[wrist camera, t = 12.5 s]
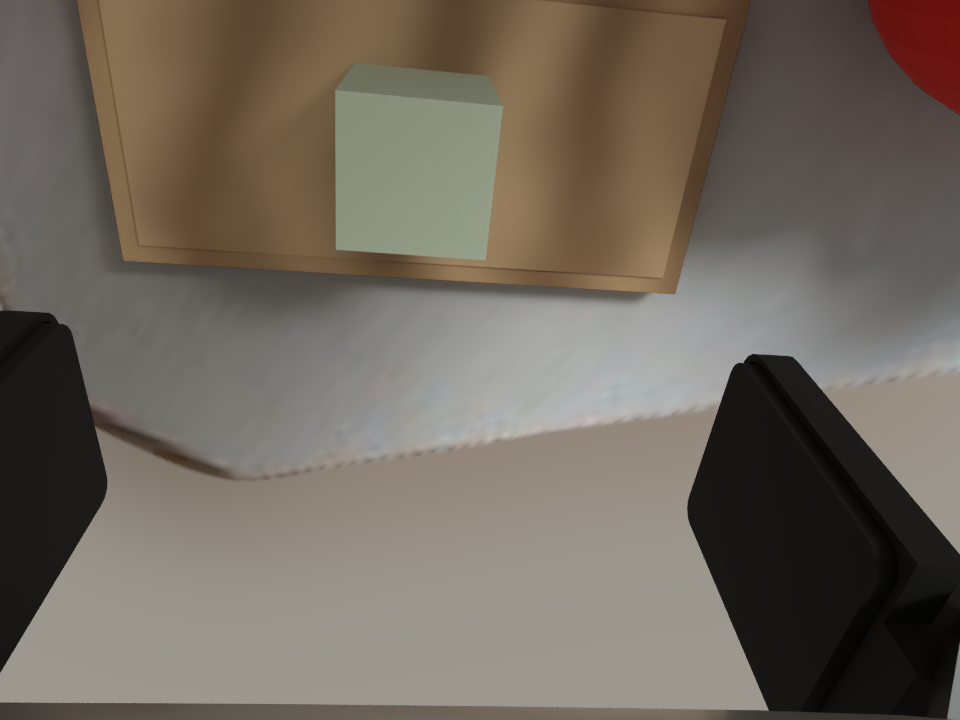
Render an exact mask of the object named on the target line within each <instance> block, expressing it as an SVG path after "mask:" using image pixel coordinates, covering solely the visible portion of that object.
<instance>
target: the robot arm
mask: <svg viewBox="0 0 960 720" xmlns="http://www.w3.org/2000/svg"><path fill="white" fill-rule="evenodd" d="M106 490H107V475H106V471H105V466H104V462H103V458H102V455H101V450H100V446H99V442H98V438H97V434H96V430H95V426H94V421H93V417H92V413H91V409H90V405H89V401H88V397H87V393H86V389H85V385H84V381H83V376H82V372H81V368H80V364H79V360H78V356H77V352H76V348H75V344H74V340H73V336H72V333H71V330H70V329H69V328H68V326H66V325H64V324H59V323H58V321H57V320H56V318H55V317H54V316H53V315H51V314H50V313H41V312H24V311H0V672H1V671H2V669H3V667H4V665H5V664H6V662H7V660H8V659H9V657H10V656H11V653H12V652H13V651H14V649H15V647H16V646H17V644H18V642H19V641H20V639H21V637H22V635H23V634H24V632H25V630H26V629H27V627H28V626H29V624H30V622H31V621H32V619H33V617H34V616H35V614H36V612H37V611H38V609H39V607H40V606H41V604H42V602H43V601H44V599H45V597H46V596H47V594H48V592H49V591H50V589H51V587H52V586H53V584H54V582H55V581H56V579H57V577H58V576H59V574H60V573H61V571H62V569H63V568H64V566H65V564H66V563H67V561H68V559H69V558H70V556H71V554H72V553H73V551H74V549H75V548H76V546H77V544H78V543H79V541H80V539H81V538H82V536H83V534H84V533H85V531H86V529H87V527H88V526H89V524H90V523H91V521H92V519H93V517H94V516H95V514H96V513H97V511H98V509H99V508H100V506H101V504H102V502H103V500H104V498H105V495H106ZM687 511H688V519H689V523H690V525H691V528H692V530H693V532H694V535H695V537H696V540H697V542H698V544H699V547H700V549H701V551H702V554H703V556H704V559H705V561H706V563H707V566H708V568H709V570H710V573H711V575H712V577H713V580H714V582H715V584H716V587H717V589H718V591H719V594H720V596H721V599H722V601H723V603H724V606H725V608H726V610H727V612H728V615H729V617H730V620H731V622H732V625H733V627H734V629H735V631H736V634H737V636H738V639H739V641H740V643H741V646H742V648H743V650H744V653H745V655H746V658H747V660H748V662H749V664H750V667H751V669H752V671H753V674H754V676H755V679H756V681H757V683H758V686H759V688H760V691H761V693H762V695H763V698H764V700H765V702H766V705H767V707H768V709H769V711H760V710H759V711H758V710H697V709H636V708H635V709H634V708H633V709H632V708H572V707H571V708H569V707H500V706H497V707H496V706H409V705H408V706H407V705H406V706H405V705H311V704H298V705H297V704H173V703H172V704H170V703H169V704H168V703H164V704H163V703H159V704H158V703H0V720H960V554H959V553H958V552H957V551H956V549H955V548H954V547H953V546H952V545H951V544H950V542H949V541H948V540H947V539H946V538H945V536H944V535H943V534H942V533H941V532H940V530H939V529H938V528H937V527H936V526H935V524H934V523H933V522H932V521H931V520H930V519H929V517H928V516H927V515H926V514H925V513H924V512H923V510H922V509H921V508H920V507H919V505H918V504H917V503H916V502H915V501H914V500H913V498H912V497H911V496H910V495H909V494H908V492H907V491H906V490H905V489H904V488H903V487H902V485H901V484H900V483H899V482H898V481H897V480H896V478H895V477H894V476H893V475H892V473H891V472H890V471H889V470H888V469H887V467H886V466H885V465H884V464H883V463H882V461H881V460H880V459H879V458H878V457H877V456H876V454H875V453H874V452H873V451H872V450H871V448H870V447H869V446H868V445H867V444H866V442H865V441H864V440H863V439H862V438H861V437H860V435H859V434H858V433H857V432H856V431H855V429H854V428H853V427H852V426H851V425H850V424H849V422H848V421H847V420H846V419H845V418H844V416H843V415H842V414H841V413H840V412H839V410H838V409H837V408H836V407H835V406H834V405H833V403H832V402H831V401H830V400H829V399H828V397H827V396H826V395H825V394H824V393H823V391H822V390H821V389H820V388H819V387H818V385H817V384H816V383H815V382H814V381H813V380H812V378H811V377H810V376H809V375H808V374H807V372H806V371H805V370H804V369H803V368H802V366H801V365H800V364H799V363H798V362H797V360H795V359H794V358H793V357H790V356H776V355H759V354H752V355H750V356H748V357H747V359H746V360H745V361H744V363H738V364H736V365H735V366H734V367H733V369H732V371H731V373H730V376H729V379H728V382H727V385H726V388H725V391H724V394H723V397H722V400H721V403H720V406H719V409H718V412H717V415H716V418H715V421H714V424H713V427H712V430H711V433H710V436H709V439H708V442H707V446H706V448H705V451H704V454H703V457H702V460H701V463H700V466H699V469H698V472H697V475H696V478H695V481H694V484H693V487H692V490H691V493H690V496H689V499H688V506H687Z"/></svg>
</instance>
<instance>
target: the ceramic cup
mask: <svg viewBox="0 0 960 720" xmlns="http://www.w3.org/2000/svg"><path fill="white" fill-rule="evenodd" d="M868 3H869V7H870V11H871V15H872V19H873V22H874V24H875V26H876V28H877V30H878V32H879V34H880V36H881V38H882V41H883V43H884V45H885V47H886V49H887V50H888V52H889V54H890V55H891V57H892V58H893V59H894V60H895V61H896V62H897V63H898V65H899V66H900V67H901V68H902V69H903V70H904V72H905V73H906V74H907V75H908V76H909V77H910V78H911V80H912V81H913V82H914V83H915V84H916V85H917V86H918V87H920V88H921V89H922V90H923V91H925V92H926V93H928V94H929V95H931V96H932V97H934V98H935V99H937V100H938V101H940V102H941V103H943V104H944V105H946V106H947V107H949V108H950V109H952V110H953V111H955V112H956V113H958V114H960V0H868Z"/></svg>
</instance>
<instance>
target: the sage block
mask: <svg viewBox="0 0 960 720" xmlns="http://www.w3.org/2000/svg"><path fill="white" fill-rule="evenodd" d="M502 111H503V105H502V103H501V101H500V99H499V97H498V95H497V93H496V90H495V88H494V86H493V84H492V82H491V80H490V78H489V76H482V75H472V74H462V73H452V72H442V71H432V70H422V69H412V68H402V67H392V66H382V65H372V64H362V63H354V64H353V66H352V67H351V68H350V70H349V71H348V73H347V74H346V76H345V77H344V78H343V80H342V81H341V83H340V84H339V85H338V87H337V88H336V90H335V163H336V250H348V251H361V252H375V253H389V254H403V255H417V256H431V257H445V258H459V259H473V260H486V253H487V244H488V235H489V226H490V217H491V209H492V200H493V191H494V182H495V173H496V164H497V155H498V146H499V138H500V129H501V120H502Z"/></svg>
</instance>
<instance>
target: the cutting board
mask: <svg viewBox="0 0 960 720" xmlns="http://www.w3.org/2000/svg"><path fill="white" fill-rule="evenodd" d="M750 2H751V0H77V4H78V10H79V15H80V21H81V26H82V32H83V37H84V43H85V49H86V54H87V60H88V65H89V71H90V77H91V82H92V88H93V93H94V99H95V104H96V110H97V116H98V121H99V127H100V132H101V138H102V144H103V149H104V155H105V160H106V166H107V172H108V177H109V183H110V188H111V194H112V199H113V205H114V211H115V216H116V222H117V227H118V233H119V239H120V244H121V250H122V255H123V261H136V262H153V263H169V264H186V265H202V266H219V267H235V268H252V269H269V270H285V271H302V272H318V273H335V274H351V275H368V276H384V277H401V278H417V279H434V280H451V281H467V282H484V283H500V284H517V285H533V286H550V287H566V288H583V289H599V290H616V291H632V292H649V293H666V294H675V292H676V288H677V284H678V280H679V276H680V273H681V269H682V265H683V261H684V257H685V253H686V249H687V245H688V242H689V238H690V234H691V230H692V226H693V222H694V218H695V215H696V211H697V207H698V203H699V199H700V195H701V191H702V187H703V184H704V180H705V176H706V172H707V168H708V164H709V160H710V156H711V153H712V149H713V145H714V141H715V137H716V133H717V129H718V125H719V122H720V118H721V114H722V110H723V106H724V102H725V98H726V94H727V91H728V87H729V83H730V79H731V75H732V71H733V67H734V63H735V60H736V56H737V52H738V48H739V44H740V40H741V36H742V33H743V29H744V25H745V21H746V17H747V13H748V9H749V5H750ZM354 63H362V64H372V65H382V66H392V67H402V68H412V69H422V70H432V71H442V72H452V73H462V74H472V75H482V76H489V78H490V80H491V82H492V84H493V86H494V88H495V90H496V93H497V95H498V97H499V99H500V101H501V103H502V105H503V111H502V120H501V129H500V138H499V146H498V155H497V164H496V173H495V182H494V191H493V200H492V209H491V217H490V226H489V235H488V244H487V253H486V260H473V259H459V258H445V257H431V256H417V255H403V254H389V253H375V252H361V251H348V250H336V163H335V90H336V88H337V87H338V85H339V84H340V83H341V81H342V80H343V78H344V77H345V76H346V74H347V73H348V71H349V70H350V68H351V67H352V66H353V64H354Z"/></svg>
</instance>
